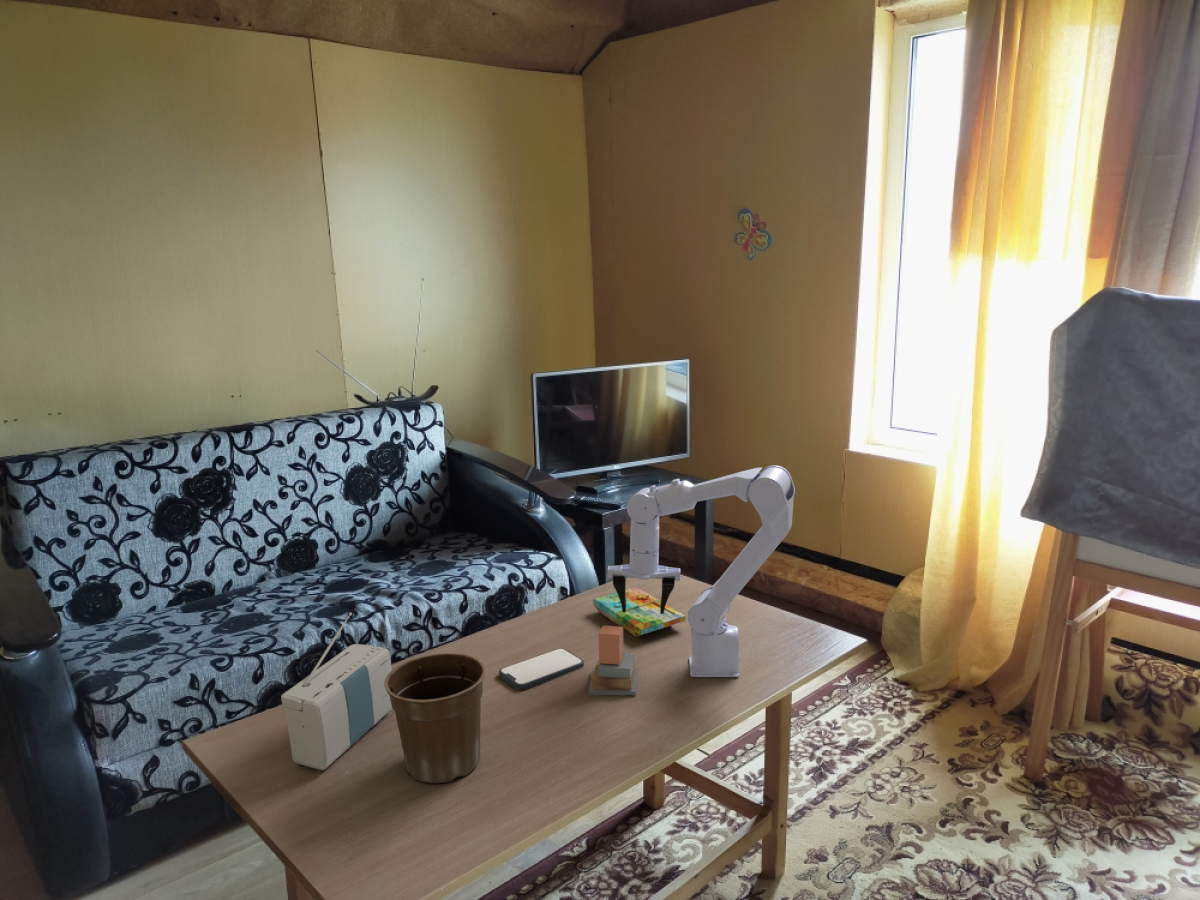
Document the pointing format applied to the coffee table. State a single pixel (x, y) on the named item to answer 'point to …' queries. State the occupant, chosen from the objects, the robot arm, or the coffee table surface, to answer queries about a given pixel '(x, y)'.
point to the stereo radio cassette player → (337, 703)
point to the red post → (611, 645)
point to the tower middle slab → (611, 681)
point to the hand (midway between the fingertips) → (643, 611)
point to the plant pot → (438, 714)
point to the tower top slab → (618, 668)
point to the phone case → (540, 669)
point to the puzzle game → (637, 612)
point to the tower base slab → (614, 691)
